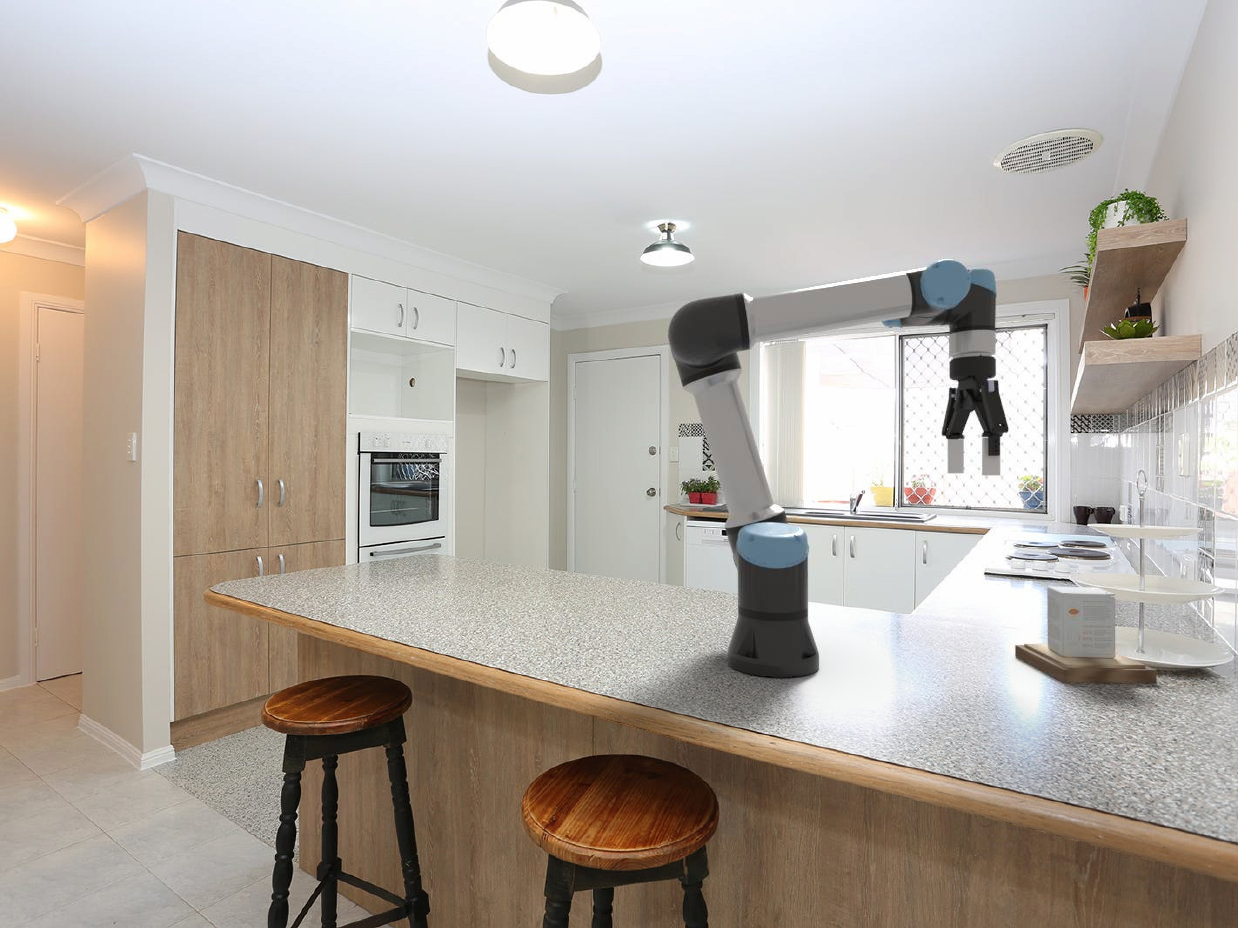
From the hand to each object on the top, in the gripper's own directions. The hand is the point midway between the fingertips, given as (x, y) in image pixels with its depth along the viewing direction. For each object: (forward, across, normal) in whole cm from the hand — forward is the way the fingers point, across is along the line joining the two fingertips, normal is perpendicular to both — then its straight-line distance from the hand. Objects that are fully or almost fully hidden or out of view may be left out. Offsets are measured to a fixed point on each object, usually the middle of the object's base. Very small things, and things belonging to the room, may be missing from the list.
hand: (972, 474), depth 126 cm
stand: (+32, -12, -12) cm, 36 cm away
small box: (+29, -12, -12) cm, 34 cm away
